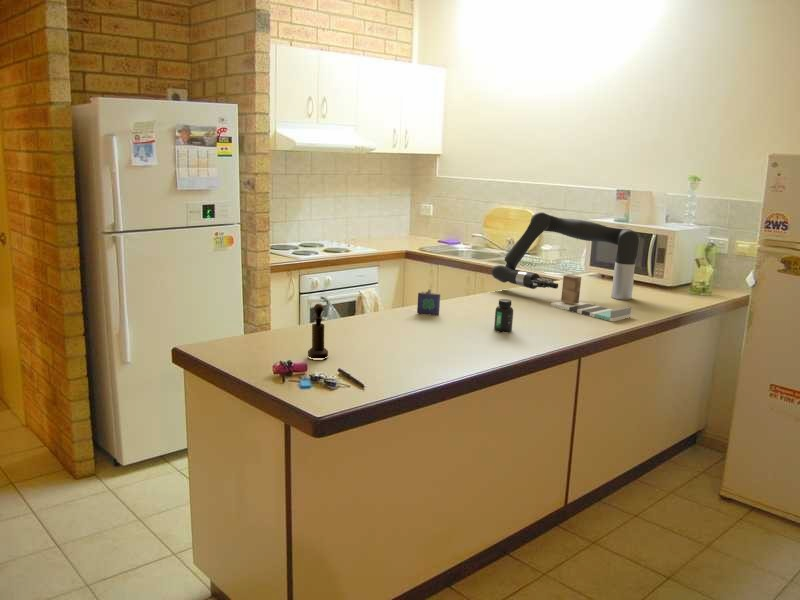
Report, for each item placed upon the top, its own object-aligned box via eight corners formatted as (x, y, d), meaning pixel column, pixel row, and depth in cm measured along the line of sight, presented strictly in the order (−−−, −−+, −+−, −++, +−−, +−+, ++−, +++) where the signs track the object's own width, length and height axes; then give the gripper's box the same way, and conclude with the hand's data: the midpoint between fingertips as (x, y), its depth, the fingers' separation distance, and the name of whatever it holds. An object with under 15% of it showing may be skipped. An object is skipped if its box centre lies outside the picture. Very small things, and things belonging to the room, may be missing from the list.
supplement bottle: (498, 333, 263) (500, 302, 260) (491, 328, 269) (493, 298, 266) (514, 332, 264) (517, 302, 262) (507, 327, 271) (509, 298, 268)
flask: (439, 313, 288) (440, 288, 285) (439, 315, 285) (440, 290, 282) (417, 312, 288) (418, 287, 286) (416, 314, 285) (418, 289, 283)
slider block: (567, 300, 315) (570, 274, 313) (578, 303, 311) (581, 276, 308) (560, 301, 312) (563, 275, 309) (572, 304, 308) (574, 278, 305)
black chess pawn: (308, 354, 226) (309, 301, 222) (328, 354, 227) (329, 301, 223) (307, 360, 220) (308, 306, 216) (327, 361, 220) (328, 306, 216)
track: (569, 302, 320) (570, 293, 319) (630, 317, 297) (631, 307, 296) (550, 306, 311) (551, 296, 310) (611, 321, 288) (613, 311, 287)
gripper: (519, 273, 323) (549, 279, 311) (537, 270, 332) (566, 276, 319) (517, 288, 325) (547, 295, 312) (535, 285, 334) (565, 292, 321)
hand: (557, 286), depth 316 cm, fingers closed
